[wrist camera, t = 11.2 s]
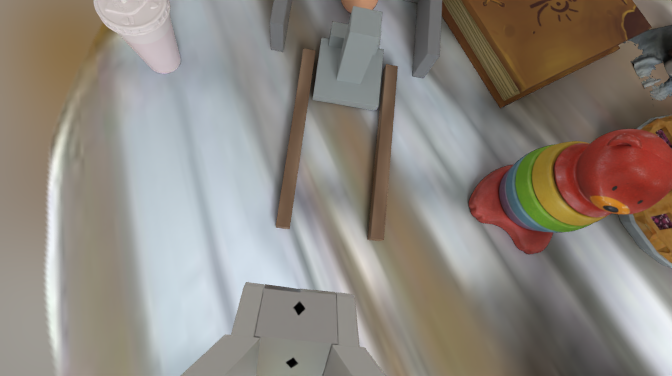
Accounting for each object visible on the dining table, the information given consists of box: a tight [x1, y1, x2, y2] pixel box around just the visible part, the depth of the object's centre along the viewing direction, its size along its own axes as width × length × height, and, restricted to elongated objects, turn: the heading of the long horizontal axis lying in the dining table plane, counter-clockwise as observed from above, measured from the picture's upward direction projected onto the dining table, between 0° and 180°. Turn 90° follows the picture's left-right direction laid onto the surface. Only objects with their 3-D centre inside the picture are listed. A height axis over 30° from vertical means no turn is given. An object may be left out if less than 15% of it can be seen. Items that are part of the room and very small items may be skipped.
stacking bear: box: [469, 129, 672, 254], centre depth 36 cm, size 11×10×18 cm
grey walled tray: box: [270, 0, 442, 78], centre depth 44 cm, size 20×13×5 cm, turn 83°
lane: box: [276, 48, 398, 241], centre depth 42 cm, size 12×22×2 cm, turn 173°
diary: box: [442, 0, 652, 108], centre depth 49 cm, size 23×19×6 cm
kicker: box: [313, 6, 384, 111], centre depth 40 cm, size 8×9×10 cm
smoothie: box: [94, 0, 181, 74], centre depth 35 cm, size 6×6×14 cm
